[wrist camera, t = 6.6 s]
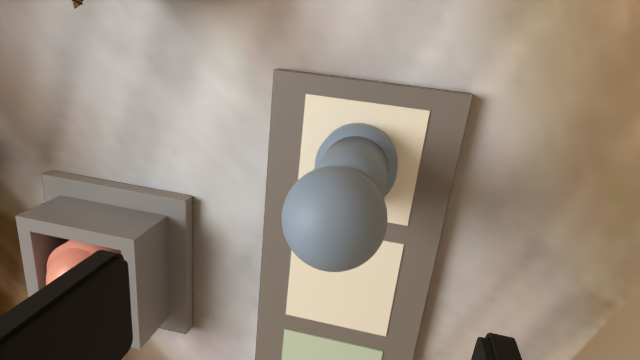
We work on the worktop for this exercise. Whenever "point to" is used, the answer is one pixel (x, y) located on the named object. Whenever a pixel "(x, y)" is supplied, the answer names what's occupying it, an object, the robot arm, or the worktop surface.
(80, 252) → the dome button
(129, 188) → the button housing
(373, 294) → the track board
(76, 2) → the game die
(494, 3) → the worktop surface
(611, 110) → the worktop surface
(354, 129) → the pawn
